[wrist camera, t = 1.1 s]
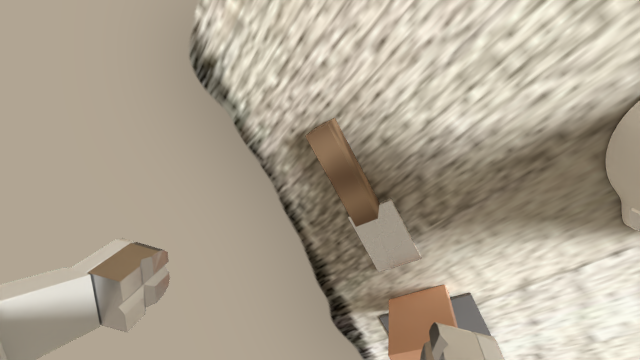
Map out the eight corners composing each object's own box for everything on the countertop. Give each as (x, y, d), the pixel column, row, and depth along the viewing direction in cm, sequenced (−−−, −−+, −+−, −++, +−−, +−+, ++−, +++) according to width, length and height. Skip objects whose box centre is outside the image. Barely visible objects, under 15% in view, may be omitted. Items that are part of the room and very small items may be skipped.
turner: (303, 134, 36) (293, 142, 32) (346, 111, 34) (340, 116, 30) (378, 268, 41) (377, 290, 37) (420, 255, 39) (424, 276, 35)
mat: (379, 315, 43) (379, 318, 43) (470, 292, 39) (470, 295, 39) (424, 392, 47) (424, 394, 46) (512, 379, 42) (513, 381, 42)
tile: (388, 299, 42) (388, 355, 34) (444, 284, 39) (458, 341, 31) (394, 309, 43) (395, 366, 34) (449, 294, 40) (465, 353, 32)
